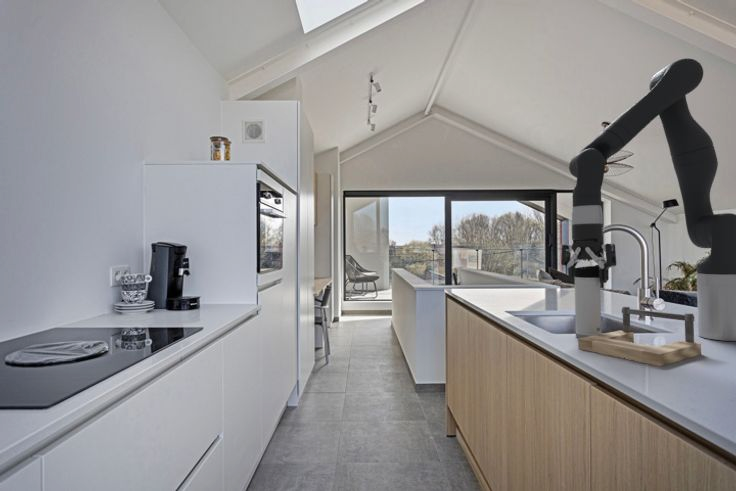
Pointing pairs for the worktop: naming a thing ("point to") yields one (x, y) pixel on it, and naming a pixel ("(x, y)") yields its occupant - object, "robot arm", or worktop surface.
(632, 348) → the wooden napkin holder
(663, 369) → the worktop surface
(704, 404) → the worktop surface
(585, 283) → the travel mug
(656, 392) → the worktop surface
